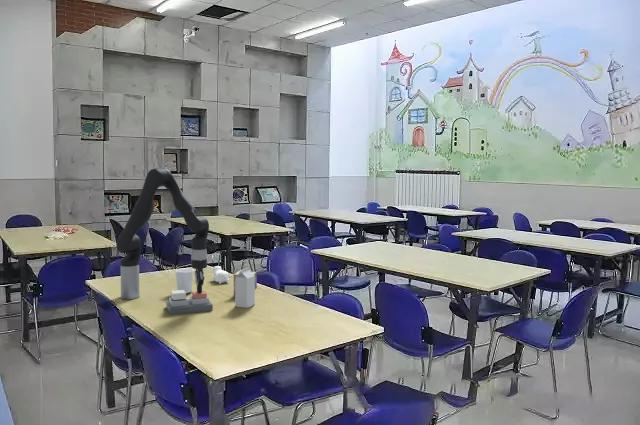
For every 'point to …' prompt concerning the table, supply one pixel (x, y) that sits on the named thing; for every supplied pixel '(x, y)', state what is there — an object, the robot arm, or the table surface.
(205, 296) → the red key
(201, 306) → the key base
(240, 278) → the milk carton
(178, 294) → the ivory key
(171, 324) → the table surface
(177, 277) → the cup
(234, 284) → the gray gift bag
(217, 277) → the white animal figurine
